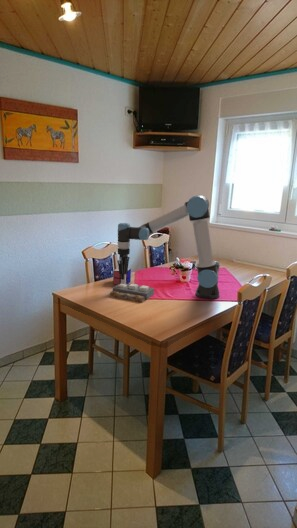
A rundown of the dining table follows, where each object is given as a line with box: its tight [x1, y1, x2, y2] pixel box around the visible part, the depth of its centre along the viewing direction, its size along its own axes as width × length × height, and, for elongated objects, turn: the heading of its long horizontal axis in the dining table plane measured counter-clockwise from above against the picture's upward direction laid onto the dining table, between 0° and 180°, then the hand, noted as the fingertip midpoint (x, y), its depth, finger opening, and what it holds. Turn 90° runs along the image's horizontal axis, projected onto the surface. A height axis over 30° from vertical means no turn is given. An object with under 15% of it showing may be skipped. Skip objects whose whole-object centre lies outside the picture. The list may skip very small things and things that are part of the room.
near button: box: [140, 284, 150, 292], centre depth 213 cm, size 4×4×4 cm
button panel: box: [112, 283, 155, 301], centre depth 217 cm, size 24×12×4 cm, turn 68°
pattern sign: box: [109, 290, 146, 303], centre depth 209 cm, size 22×4×3 cm, turn 68°
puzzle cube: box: [112, 266, 132, 286], centre depth 237 cm, size 10×10×10 cm
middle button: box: [129, 283, 139, 290], centre depth 216 cm, size 4×4×4 cm
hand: (123, 283), depth 218 cm, fingers closed
